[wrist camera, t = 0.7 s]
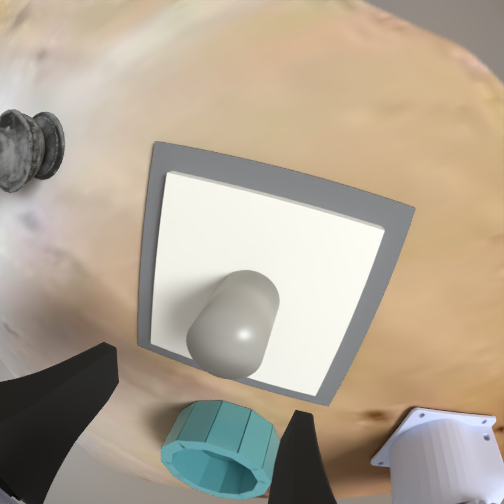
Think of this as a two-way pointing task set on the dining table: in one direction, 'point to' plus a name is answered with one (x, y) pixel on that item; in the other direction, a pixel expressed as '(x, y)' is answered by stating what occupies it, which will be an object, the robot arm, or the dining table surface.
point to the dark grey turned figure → (29, 148)
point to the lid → (256, 281)
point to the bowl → (221, 450)
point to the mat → (294, 188)
